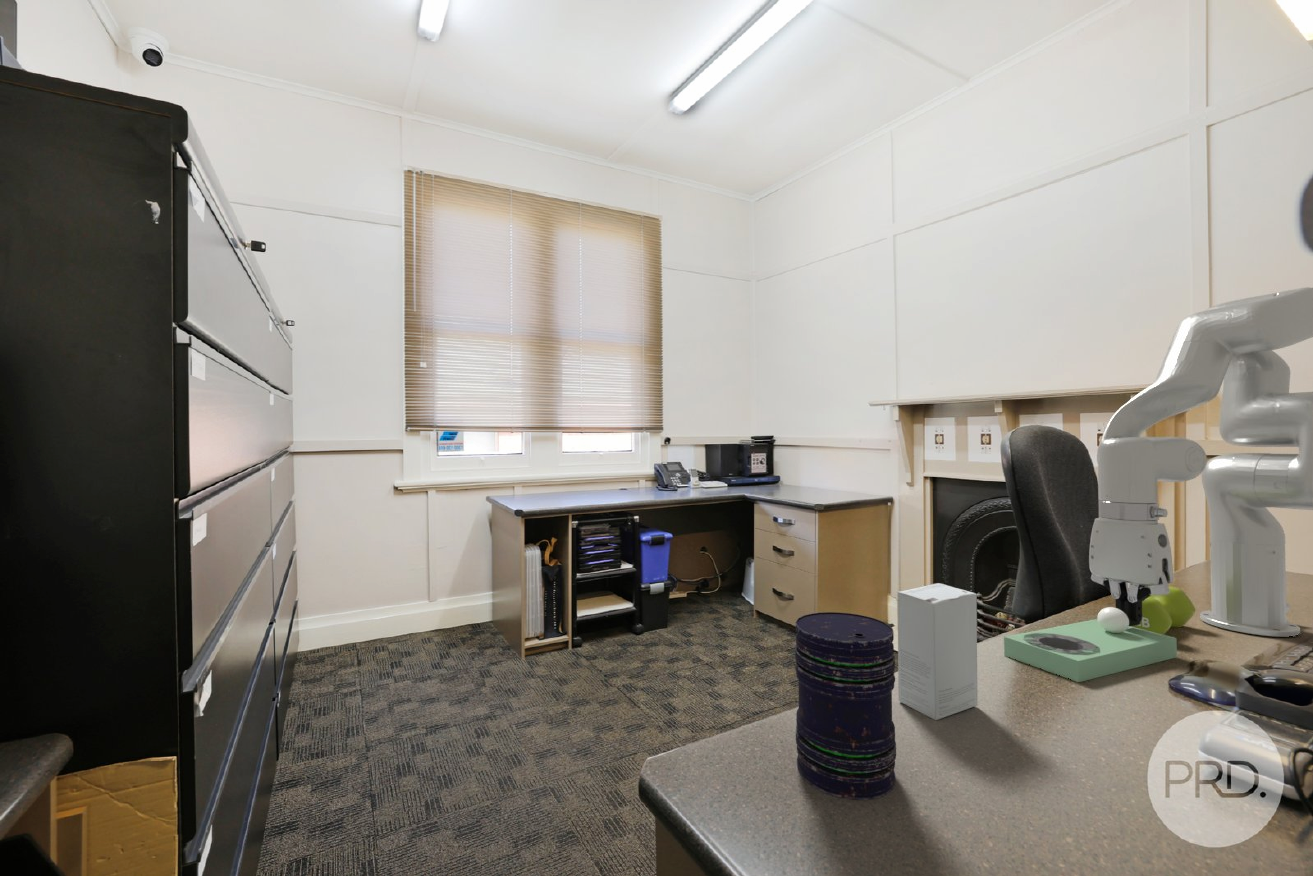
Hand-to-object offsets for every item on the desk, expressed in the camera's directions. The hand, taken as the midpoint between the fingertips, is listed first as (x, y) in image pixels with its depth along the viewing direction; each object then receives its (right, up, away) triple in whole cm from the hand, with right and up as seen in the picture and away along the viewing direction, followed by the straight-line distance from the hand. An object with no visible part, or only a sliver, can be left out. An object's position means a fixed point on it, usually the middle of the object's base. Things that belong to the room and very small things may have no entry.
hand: (1128, 623), depth 93 cm
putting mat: (-9, -4, -4) cm, 11 cm away
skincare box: (-42, -4, -20) cm, 47 cm away
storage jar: (-58, -4, -35) cm, 68 cm away
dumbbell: (+11, -4, +8) cm, 15 cm away
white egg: (-4, +1, -2) cm, 4 cm away
